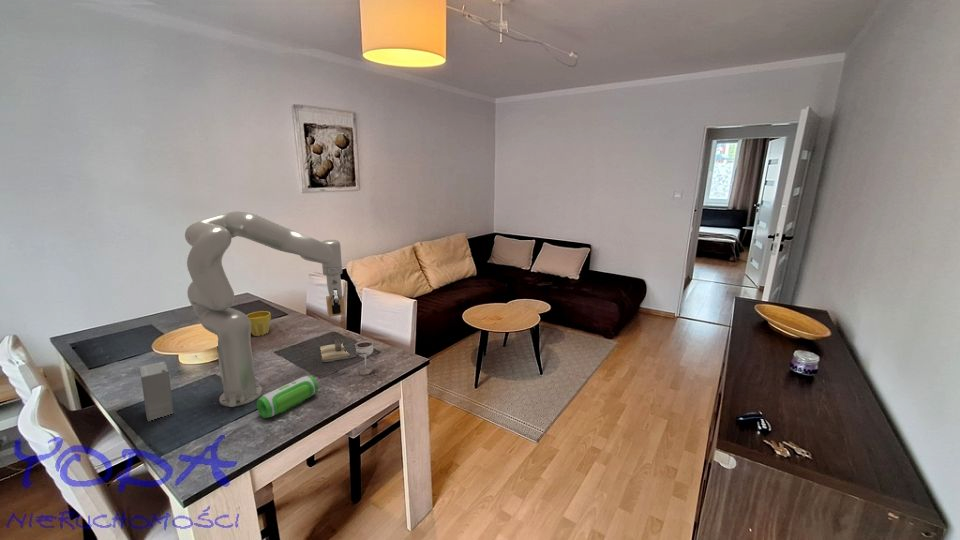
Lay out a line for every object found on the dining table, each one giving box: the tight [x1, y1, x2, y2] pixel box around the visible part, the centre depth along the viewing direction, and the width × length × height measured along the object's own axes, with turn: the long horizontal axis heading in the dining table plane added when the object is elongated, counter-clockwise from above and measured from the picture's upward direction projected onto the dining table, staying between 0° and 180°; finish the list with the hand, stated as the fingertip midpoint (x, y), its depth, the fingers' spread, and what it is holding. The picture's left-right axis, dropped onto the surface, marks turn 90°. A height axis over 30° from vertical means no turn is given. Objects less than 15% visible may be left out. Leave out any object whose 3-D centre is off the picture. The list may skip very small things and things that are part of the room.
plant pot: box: [245, 310, 272, 337], centre depth 179 cm, size 10×10×10 cm
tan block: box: [325, 295, 346, 317], centre depth 157 cm, size 6×6×7 cm
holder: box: [319, 338, 350, 362], centre depth 161 cm, size 14×14×6 cm
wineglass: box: [354, 339, 374, 369], centre depth 146 cm, size 7×7×12 cm
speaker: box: [256, 375, 319, 419], centre depth 124 cm, size 18×7×8 cm, turn 148°
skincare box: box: [139, 360, 174, 422], centre depth 117 cm, size 8×7×16 cm
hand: (335, 310), depth 157 cm, fingers closed on tan block, 6 cm apart
